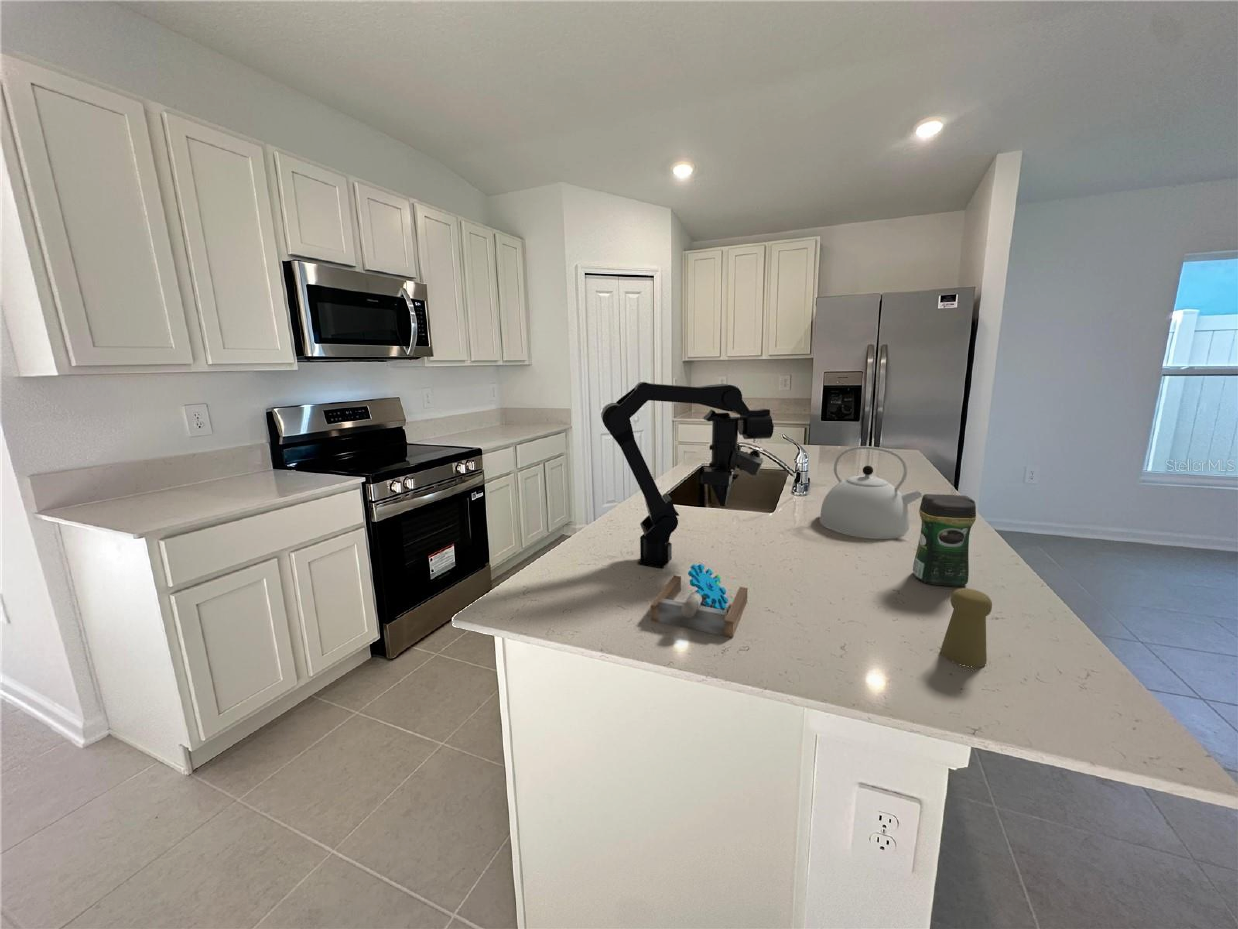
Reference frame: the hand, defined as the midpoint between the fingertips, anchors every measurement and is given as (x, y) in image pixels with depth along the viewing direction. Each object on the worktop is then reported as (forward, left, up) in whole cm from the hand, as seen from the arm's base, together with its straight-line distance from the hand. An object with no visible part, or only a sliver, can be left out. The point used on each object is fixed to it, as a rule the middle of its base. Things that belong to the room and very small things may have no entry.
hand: (722, 505), depth 113 cm
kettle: (+33, +38, -13) cm, 52 cm away
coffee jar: (+45, +6, -13) cm, 47 cm away
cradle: (+2, -26, -13) cm, 29 cm away
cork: (+44, -24, -13) cm, 52 cm away
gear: (+3, -23, -13) cm, 26 cm away
